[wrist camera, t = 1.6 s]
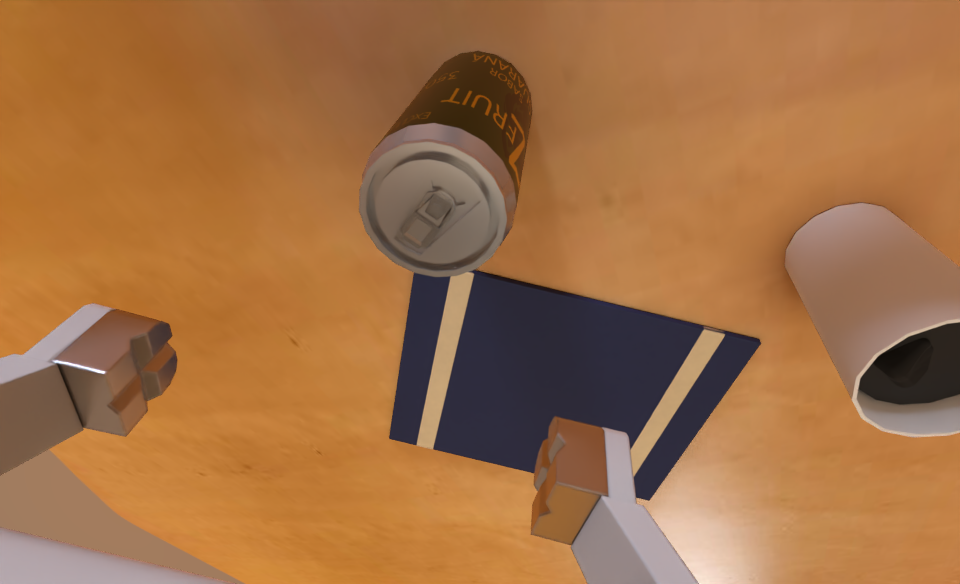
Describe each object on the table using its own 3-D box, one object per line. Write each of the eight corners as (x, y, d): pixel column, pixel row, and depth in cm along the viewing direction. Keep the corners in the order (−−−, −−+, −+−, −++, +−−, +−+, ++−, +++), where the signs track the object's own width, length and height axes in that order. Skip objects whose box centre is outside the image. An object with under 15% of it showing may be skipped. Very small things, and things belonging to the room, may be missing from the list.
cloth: (390, 435, 44) (388, 439, 43) (417, 256, 33) (415, 260, 33) (648, 496, 44) (649, 501, 44) (759, 339, 33) (761, 343, 33)
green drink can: (490, 174, 29) (453, 307, 19) (408, 113, 28) (324, 223, 18) (555, 95, 26) (549, 205, 17) (467, 22, 25) (404, 96, 15)
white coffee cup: (815, 318, 32) (899, 457, 24) (751, 248, 30) (819, 375, 22) (938, 252, 28) (1084, 389, 20) (875, 169, 26) (1011, 284, 18)
